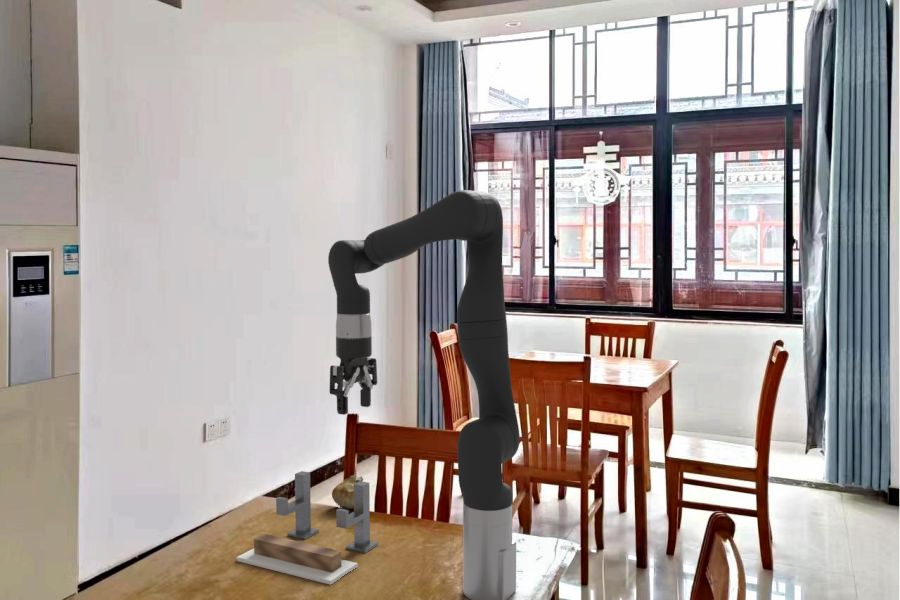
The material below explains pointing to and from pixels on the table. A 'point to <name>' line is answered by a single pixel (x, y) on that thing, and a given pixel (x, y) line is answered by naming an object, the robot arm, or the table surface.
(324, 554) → the rail
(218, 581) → the table surface
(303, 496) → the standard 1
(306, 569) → the mat
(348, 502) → the onion
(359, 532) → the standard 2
